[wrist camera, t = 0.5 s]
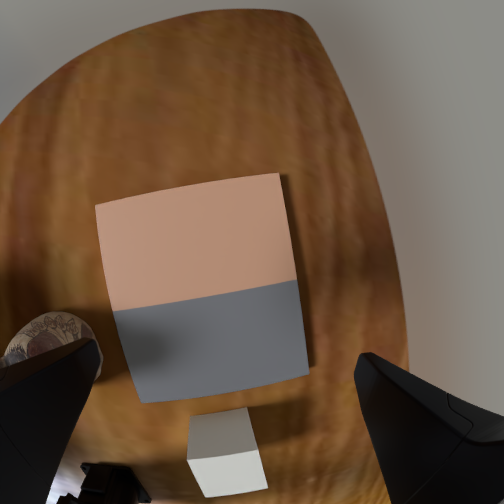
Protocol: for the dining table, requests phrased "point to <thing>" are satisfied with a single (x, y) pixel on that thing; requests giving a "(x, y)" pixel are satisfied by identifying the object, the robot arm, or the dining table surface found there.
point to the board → (204, 287)
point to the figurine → (47, 337)
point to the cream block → (224, 453)
